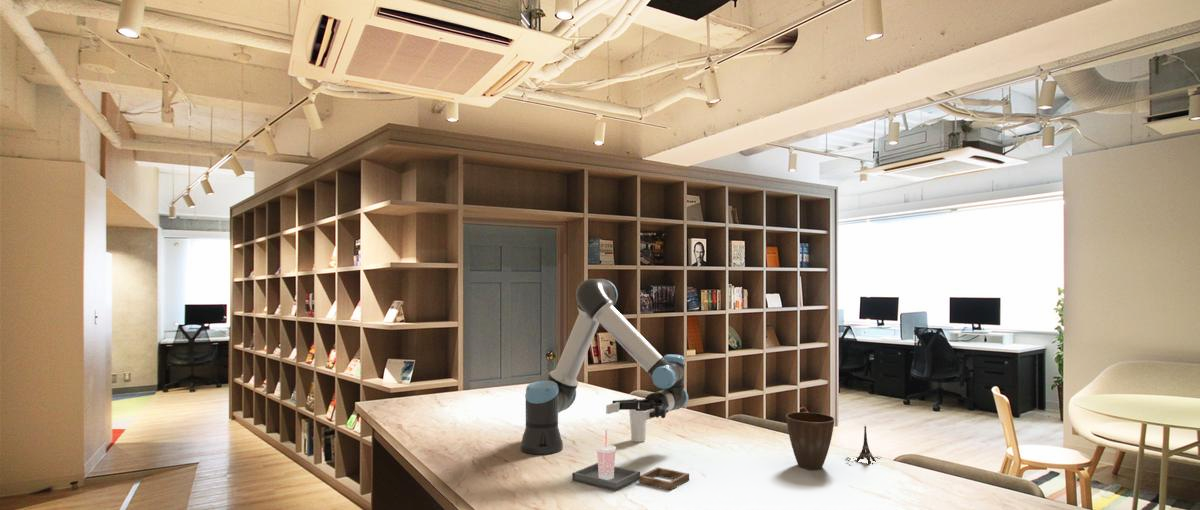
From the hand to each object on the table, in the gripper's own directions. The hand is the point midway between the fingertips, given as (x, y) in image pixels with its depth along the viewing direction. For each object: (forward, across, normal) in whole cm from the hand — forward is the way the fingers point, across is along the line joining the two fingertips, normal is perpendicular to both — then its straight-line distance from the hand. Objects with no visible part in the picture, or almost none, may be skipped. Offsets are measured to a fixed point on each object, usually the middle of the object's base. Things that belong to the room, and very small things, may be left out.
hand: (624, 412), depth 197 cm
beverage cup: (+10, -1, -18) cm, 21 cm away
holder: (+1, -16, -18) cm, 24 cm away
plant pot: (-40, -46, -17) cm, 64 cm away
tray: (+10, -1, -18) cm, 21 cm away
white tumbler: (-35, +16, -19) cm, 43 cm away
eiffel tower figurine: (-57, -59, -17) cm, 84 cm away
